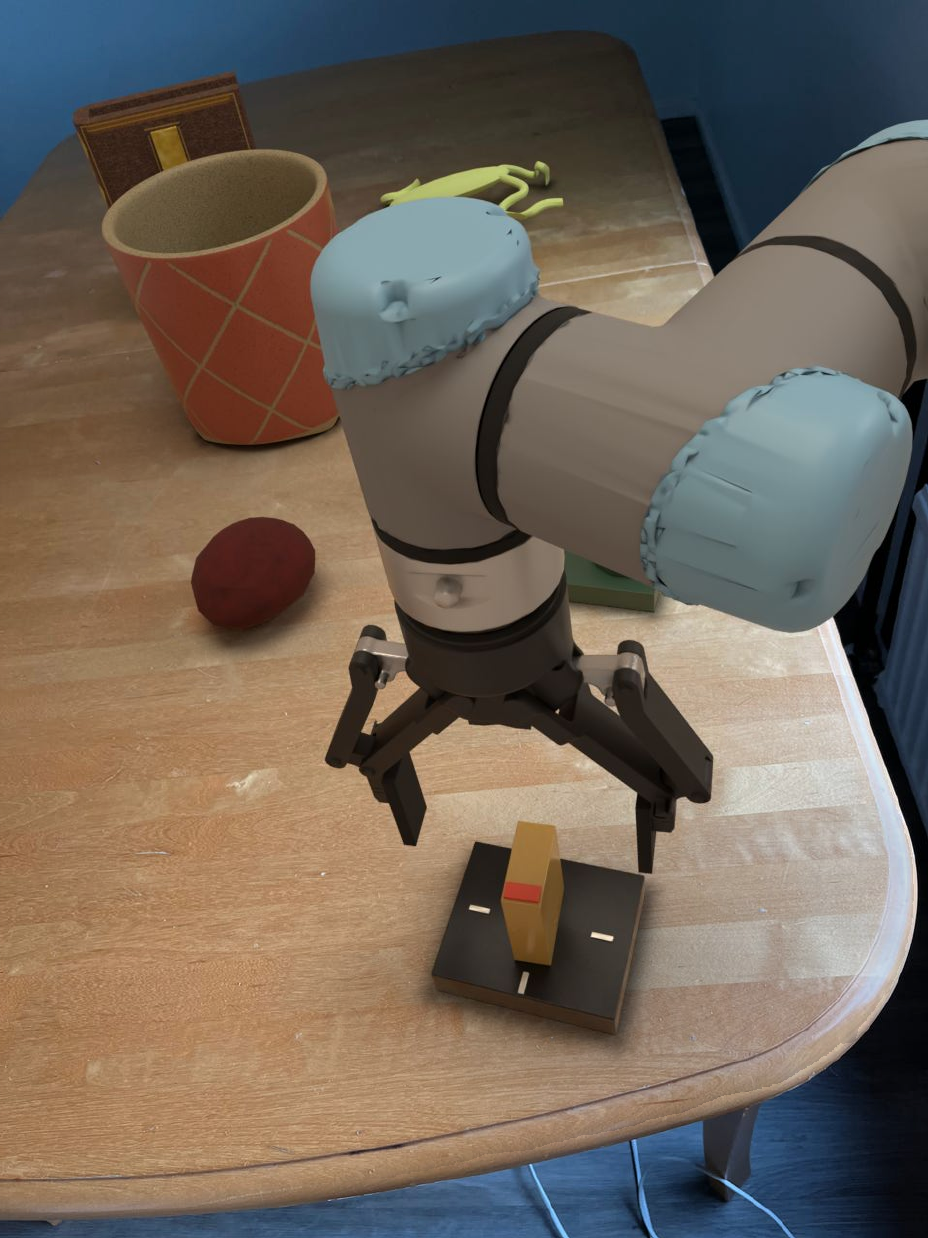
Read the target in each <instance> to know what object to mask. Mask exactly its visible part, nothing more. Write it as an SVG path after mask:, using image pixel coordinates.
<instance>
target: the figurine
mask: <svg viewBox="0 0 928 1238" xmlns="http://www.w3.org/2000/svg"><path fill="white" fill-rule="evenodd" d="M533 168H534V170H533V171H531V170H528V169H526V168H523V167H520V166H517V165H512V164H500V165H498V166H486V167H478V168H477V167H476V168H473V169H469V170H464V171H460V172H456V173H453V174H449V175H447V176H444V177H439V178H437V179H434V180H432V181H429V182H427V183H424V184H422V185H421V182H420V180H419V179H418V178H416V179H415V180H414V181H413V183H411V184H409V185H408V186H406V187H405V188H403V189H400V190H398V191H393V192H388V193H385V194H383V195H382V196H381V197H380V198H379V199H380V200H379V201H380V203H381V204H382V205H385V206H387V205H389V206H392V205H396V204H399V203H403V202H408V201H412V200H418V199H424V198H434V197H466V198H471V197H472V196H474V195H478V194H479V193H482V192H484V191H486V190H488V189H490V188H492V187H494V186H496V185H498V184H499V183H501V184H504V185H508V186H510V187H512V188H516V189H518V191H517V192H515V193H512V194H510V195H509V196H508V197H506V198H504V200H502V202H500V203H499V204H498V206H499V207H501V208H503V209H504V211H505V212H506V214H507V215H508V216H509V217H512V218H513V219H515V220H526V219H530V218H532V217H534V216H536V215H538V214H539V213H540V212H543V211H545V210H548V209H553V208H564V199H563V197H554V198H553V197H552V198H546V199H543V200H539V201H538V202H536V203H535V204H533V205H532V206H530V207H529V208H528V209H526V210H523V211H521V212H513V211H507V210H508V209H510V208H511V206H513V205H514V204H516V203H518V202H520V201H521V200H523V199H525V198H527V196H528V194H529V191H530V190H529V189H530V188H529V185H528V184H527V183H526V182H525V181H524V180H522V179H525V180H529V181H534V180H536V179H537V178H538V177H539V176H540V175H539V174H540V173H542V175H544V179H545V180H544V181H545V186H548V184H549V182H550V178H551V176H550V175H551V174H550V171H551V170H550V167H549V166H548V164H546V163H544V162H541V161H539V160H538V161H535V164H534V167H533ZM539 172H540V173H539ZM512 175H514V176H512ZM515 176H517V177H515ZM518 177H520V178H518ZM521 178H522V179H521Z"/></svg>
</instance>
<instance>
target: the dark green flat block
mask: <svg viewBox="0 0 928 1238" xmlns="http://www.w3.org/2000/svg"><path fill="white" fill-rule="evenodd" d="M564 556H565V557H564V569H565V573H566V579H567V588H568V598H569V602H574V603H581V604H589V605H596V606H605V607H612V608H613V607H614V608H619V609H628V610H637V611H643V612H644V611H645V612H652V613H655V611H656V607H657V602H658V599H659V595H660V591H658V590H657V589H655V588H653V587H650V586H648V585H646V584H643V583H641V582H639V581H636V580H634V579H632V578H629V577H627V576H625V575H622V574H620V573H618V572H615V571H613V570H611V569H608V568H606V567H604V566H601V565H599V564H597V563H594V562H592V561H590V560H587V559H585V558H583V557H580V556H578V555H576V554H573V553H571V552H569V551H566V550H564Z"/></svg>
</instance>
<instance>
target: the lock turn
mask: <svg viewBox="0 0 928 1238" xmlns="http://www.w3.org/2000/svg"><path fill="white" fill-rule="evenodd" d="M511 849H512V851H511V855H510V860H509V865H508V869H507V874H506V879H505V883H504V888H503V893H502V897H501V904H502V908H503V913H504V917H505V921H506V926H507V930H508V934H509V939H510V943H511V947H512V952H513V956H514V960H518V961H525V962H531V963H537V964H544V965H551V962H552V956H553V950H554V944H555V939H556V933H557V927H558V921H559V916H560V910H561V904H562V898H563V892H564V883H563V876H562V869H561V861H560V858H561V854H560V847H559V841H558V831H557V826H556V825H553V824H545V823H539V822H531V821H521V820H518V821H517V823H516V828H515V833H514V837H513V842H512V846H511Z"/></svg>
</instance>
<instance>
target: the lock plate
mask: <svg viewBox="0 0 928 1238" xmlns="http://www.w3.org/2000/svg"><path fill="white" fill-rule="evenodd" d="M511 851H512V847H505V846H503V845H496V844H492V843H486V842H481V841H477V840H476V841H474V843H473V846H472V850H471V852H470V855H469V858H468V860H467V861H468V862H467V863H466V868H465V870H464V873H463V877H462V880H461V881H460V885H459V888H458V892H457V895H456V898H455V901H454V904H453V907H452V909H451V912H450V916H449V919H448V922H447V924H446V928H445V931H444V934H443V937H442V940H441V943H440V945H439V949H438V951H437V955H436V957H435V961H434V964H433V967H432V970H431V973H430V975H431V978H432V981H433V983H434V986H435V988H436V990H437V991H439V992H444V993H448V994H451V995H452V994H453V995H455V996H461V997H464V998H467V999H471V1000H476V1001H480V1002H482V1003H483V1002H484V1003H487V1004H491V1005H496V1006H500V1007H503V1008H507V1009H511V1010H516V1011H518V1012H519V1011H520V1012H523V1013H527V1014H531V1015H536V1016H540V1017H544V1018H547V1019H551V1020H556V1021H559V1022H563V1023H567V1024H571V1025H575V1026H579V1027H582V1028H587V1029H590V1030H594V1031H599V1032H602V1033H606V1034H610V1035H614V1036H615V1035H617V1032H618V1028H619V1022H620V1017H621V1013H622V1007H623V1003H624V999H625V993H626V987H627V984H628V979H629V974H630V969H631V963H632V959H633V954H634V950H635V945H636V940H637V934H638V930H639V926H640V919H641V916H642V911H643V906H644V901H645V896H646V876H645V875H644V874H640V873H634V872H629V871H624V870H620V869H614V868H609V867H604V866H599V865H594V864H589V863H585V862H580V861H574V860H570V859H565V858H561V857H560V861H561V869H562V876H563V883H564V892H563V898H562V904H561V910H560V916H559V921H558V927H557V933H556V939H555V944H554V950H553V956H552V962H551V965H544V964H537V963H531V962H525V961H518V960H514V956H513V952H512V947H511V943H510V939H509V934H508V930H507V926H506V921H505V917H504V913H503V908H502V904H501V897H502V893H503V888H504V883H505V879H506V874H507V869H508V865H509V860H510V855H511Z"/></svg>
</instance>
